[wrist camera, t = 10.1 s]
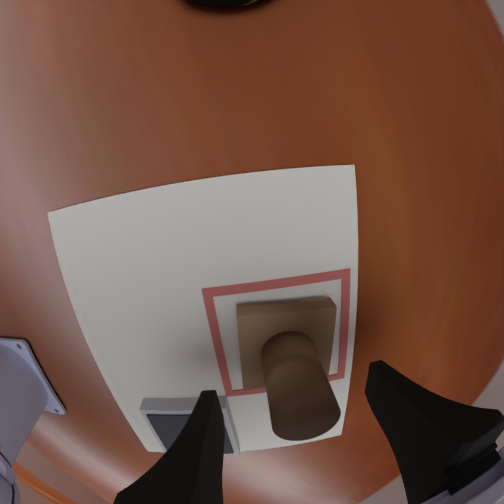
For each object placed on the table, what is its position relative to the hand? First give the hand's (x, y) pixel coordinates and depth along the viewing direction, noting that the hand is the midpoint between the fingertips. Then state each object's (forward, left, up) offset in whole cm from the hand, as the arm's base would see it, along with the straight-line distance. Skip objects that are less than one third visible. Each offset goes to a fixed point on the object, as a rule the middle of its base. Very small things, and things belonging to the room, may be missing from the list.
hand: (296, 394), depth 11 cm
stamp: (0, 0, -4) cm, 4 cm away
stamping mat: (-4, -1, -5) cm, 6 cm away
